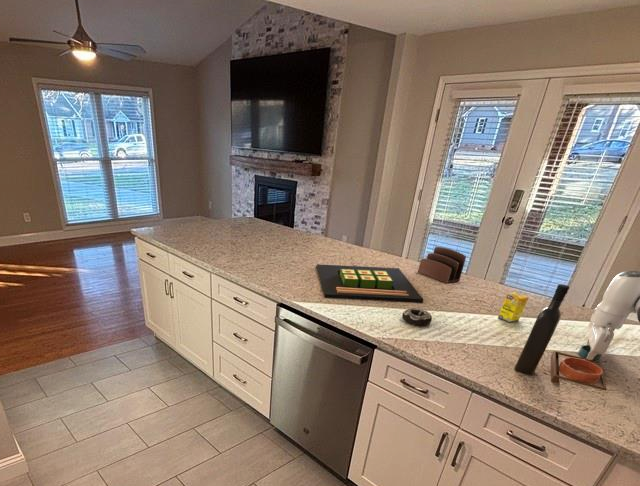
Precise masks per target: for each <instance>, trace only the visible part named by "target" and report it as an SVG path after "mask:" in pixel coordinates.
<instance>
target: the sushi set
mask: <svg viewBox="0 0 640 486" xmlns="http://www.w3.org/2000/svg"><path fill="white" fill-rule="evenodd" d="M316 272H317V275H318V279H319V283H320V286H321V291H322V293H323V297H324V298H325V299H344V300H363V301H380V302H381V301H382V302H404V303H421V304H422V303H423V302H424V298H423V297H422V296H421V294H420V293H419V292H418V290H417V289H416V288H415V287H414V286H413V284H412V283H411V282H410V281H409V279H408V278H407V277H406V276H405V274H404V273H403V272H402V270H401V269H400V268H399V267H381V266H380V267H379V266H362V265H361V266H359V265H339V264H321V263H320V264H317V263H316Z"/></svg>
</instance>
